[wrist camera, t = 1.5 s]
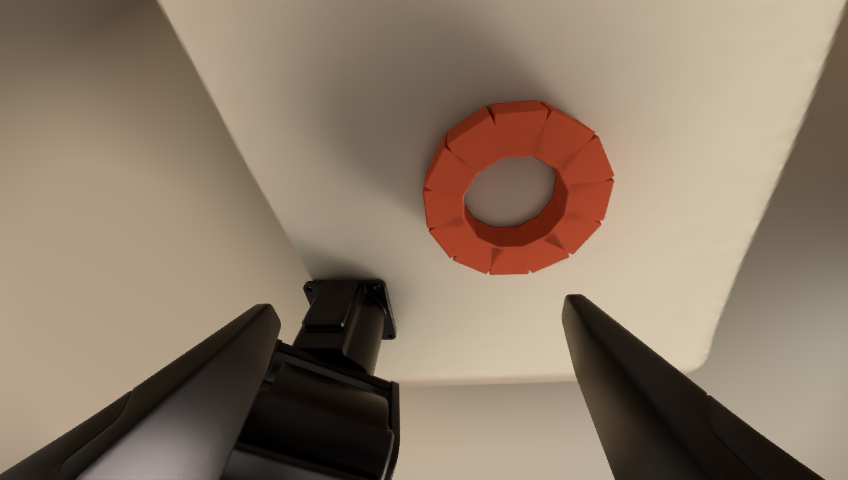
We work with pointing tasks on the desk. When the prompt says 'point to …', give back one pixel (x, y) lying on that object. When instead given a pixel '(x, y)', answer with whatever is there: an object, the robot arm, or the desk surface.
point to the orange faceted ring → (505, 138)
